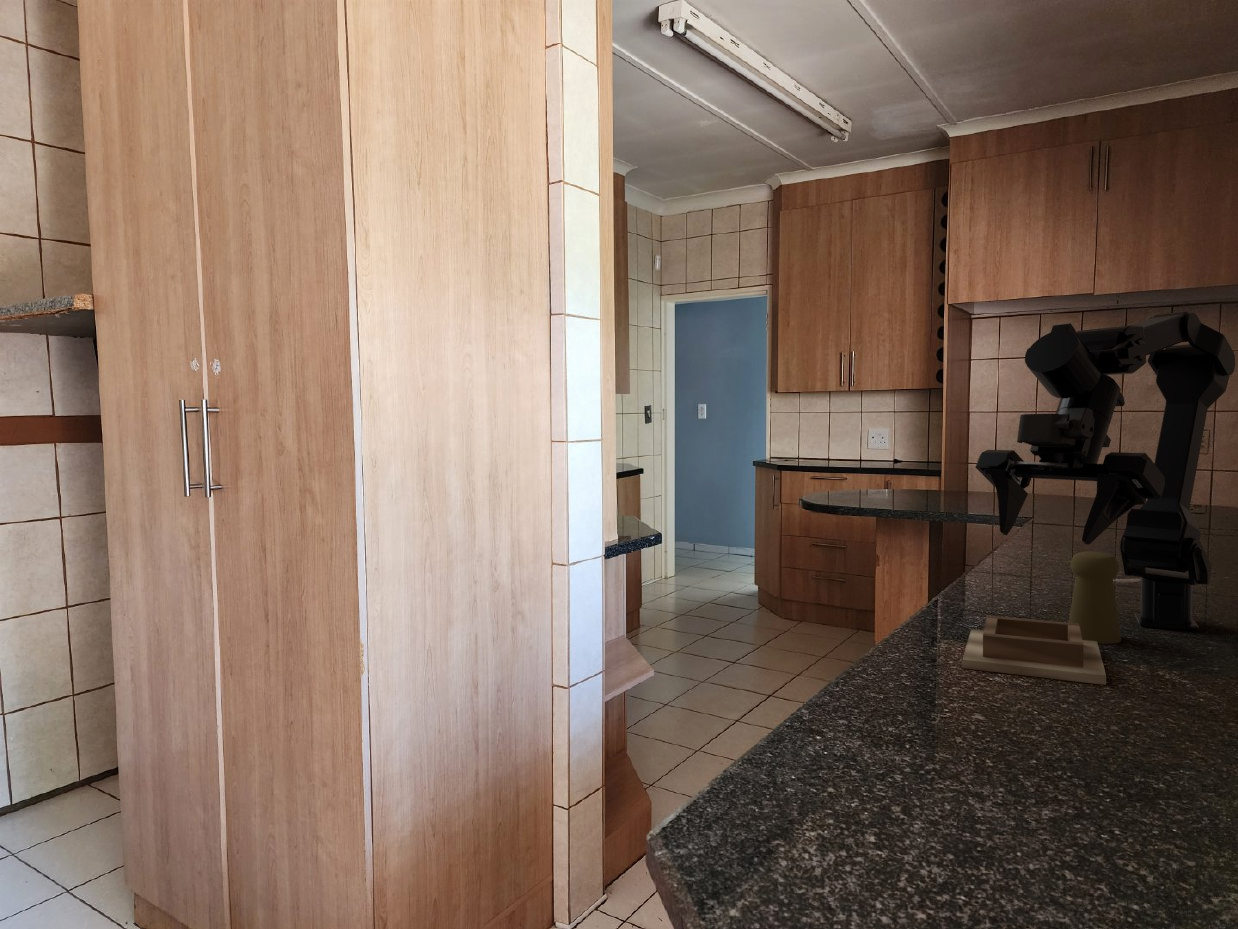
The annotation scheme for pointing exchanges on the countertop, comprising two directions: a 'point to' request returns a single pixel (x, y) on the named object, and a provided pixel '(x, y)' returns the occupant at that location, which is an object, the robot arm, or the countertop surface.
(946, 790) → the countertop surface
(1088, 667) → the socket board
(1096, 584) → the cork
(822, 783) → the countertop surface
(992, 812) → the countertop surface
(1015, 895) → the countertop surface
